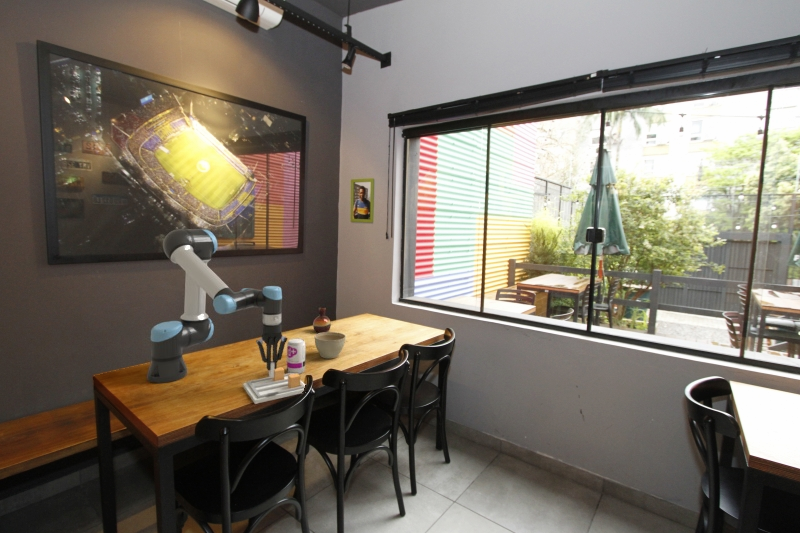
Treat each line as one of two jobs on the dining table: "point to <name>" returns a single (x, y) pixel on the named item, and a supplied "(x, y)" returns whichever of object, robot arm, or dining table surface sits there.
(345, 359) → the dining table surface
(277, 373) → the orange block
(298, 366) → the supplement can
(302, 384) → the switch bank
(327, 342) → the planter bowl
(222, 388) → the dining table surface
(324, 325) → the vase
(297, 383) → the tab
